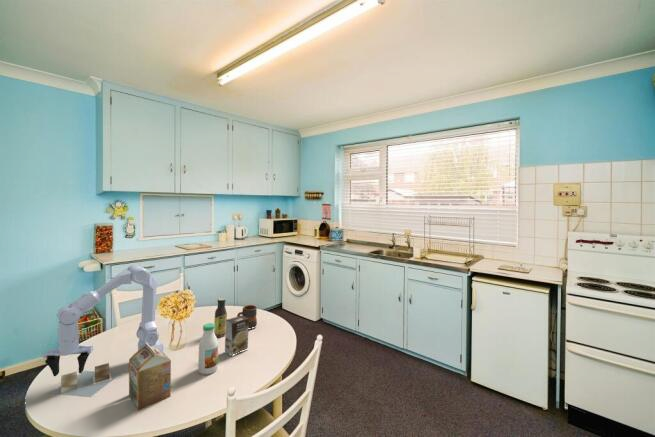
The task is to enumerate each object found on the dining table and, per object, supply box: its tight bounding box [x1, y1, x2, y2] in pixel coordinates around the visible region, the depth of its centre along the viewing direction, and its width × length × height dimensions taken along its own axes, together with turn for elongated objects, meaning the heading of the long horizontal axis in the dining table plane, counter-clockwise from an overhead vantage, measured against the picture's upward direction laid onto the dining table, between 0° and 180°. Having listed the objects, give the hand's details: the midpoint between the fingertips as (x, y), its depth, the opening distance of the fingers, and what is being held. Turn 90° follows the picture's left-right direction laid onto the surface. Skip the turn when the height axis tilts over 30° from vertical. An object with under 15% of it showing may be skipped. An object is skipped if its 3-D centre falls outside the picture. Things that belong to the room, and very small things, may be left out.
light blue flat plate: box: [50, 370, 121, 398], centre depth 114 cm, size 16×15×1 cm
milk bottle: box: [198, 322, 219, 375], centre depth 126 cm, size 8×8×20 cm
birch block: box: [60, 371, 78, 393], centre depth 111 cm, size 4×4×4 cm
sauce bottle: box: [213, 297, 228, 338], centre depth 158 cm, size 7×6×20 cm
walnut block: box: [94, 362, 111, 383], centre depth 117 cm, size 4×4×4 cm
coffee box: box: [224, 315, 249, 355], centre depth 143 cm, size 9×6×16 cm
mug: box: [236, 304, 258, 328], centre depth 169 cm, size 9×12×12 cm
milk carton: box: [128, 342, 172, 411], centre depth 108 cm, size 11×11×19 cm
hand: (68, 373), depth 110 cm, fingers open, 7 cm apart
